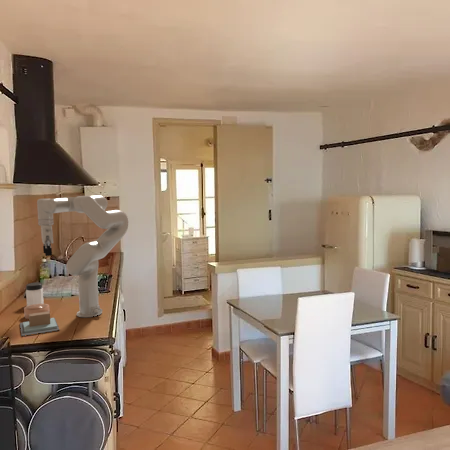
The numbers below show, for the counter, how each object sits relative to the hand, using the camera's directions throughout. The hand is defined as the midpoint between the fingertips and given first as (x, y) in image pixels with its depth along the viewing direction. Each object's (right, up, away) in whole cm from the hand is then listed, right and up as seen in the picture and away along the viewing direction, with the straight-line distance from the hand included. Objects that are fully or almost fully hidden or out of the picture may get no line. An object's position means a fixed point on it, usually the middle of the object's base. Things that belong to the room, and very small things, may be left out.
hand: (47, 254), depth 240 cm
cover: (+6, -33, -25) cm, 41 cm away
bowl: (-3, -32, -7) cm, 32 cm away
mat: (+6, -33, -25) cm, 42 cm away
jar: (-12, -30, +13) cm, 35 cm away
